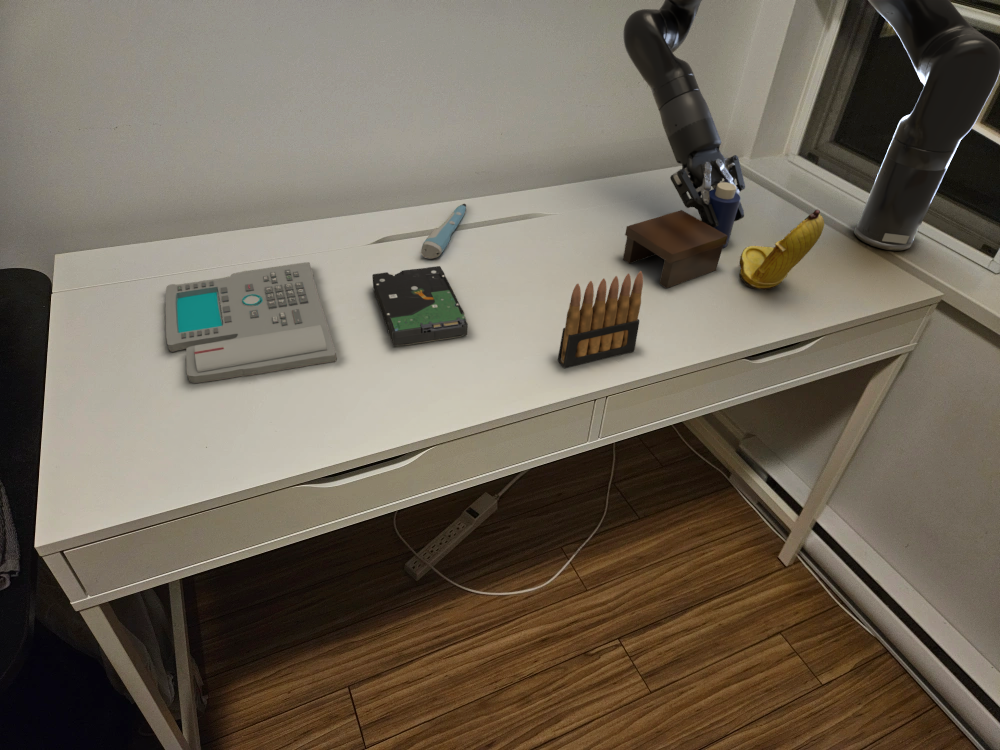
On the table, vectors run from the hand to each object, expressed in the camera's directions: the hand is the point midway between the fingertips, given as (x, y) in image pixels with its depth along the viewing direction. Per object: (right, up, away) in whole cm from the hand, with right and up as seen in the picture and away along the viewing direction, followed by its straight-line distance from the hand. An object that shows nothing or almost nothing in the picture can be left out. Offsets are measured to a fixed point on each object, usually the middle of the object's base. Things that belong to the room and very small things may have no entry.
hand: (726, 223), depth 114 cm
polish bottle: (-1, -2, +4) cm, 5 cm away
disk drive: (-49, -16, -16) cm, 54 cm away
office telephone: (-71, -18, -20) cm, 76 cm away
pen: (-46, -2, +2) cm, 46 cm away
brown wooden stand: (-10, -7, -3) cm, 13 cm away
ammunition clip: (-24, -22, -22) cm, 40 cm away
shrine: (+4, -11, -6) cm, 13 cm away
